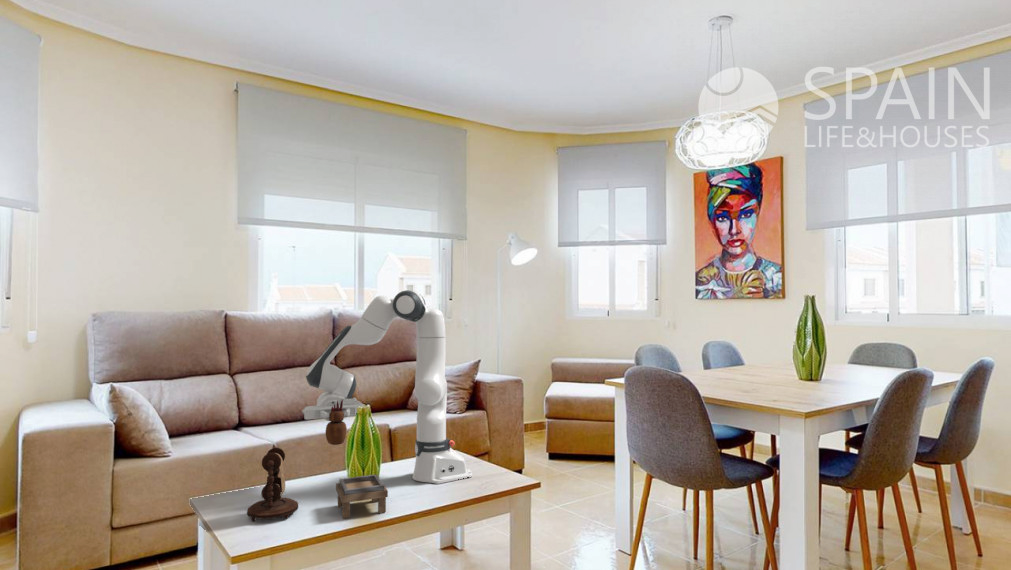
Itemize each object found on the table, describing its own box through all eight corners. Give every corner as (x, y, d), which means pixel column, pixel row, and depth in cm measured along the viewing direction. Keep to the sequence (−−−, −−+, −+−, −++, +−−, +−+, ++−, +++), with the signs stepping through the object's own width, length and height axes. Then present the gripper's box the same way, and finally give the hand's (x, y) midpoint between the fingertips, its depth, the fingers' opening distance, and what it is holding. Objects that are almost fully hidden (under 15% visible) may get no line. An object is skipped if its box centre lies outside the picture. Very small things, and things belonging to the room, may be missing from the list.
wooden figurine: (348, 442, 199) (349, 398, 199) (342, 446, 193) (343, 401, 194) (329, 441, 200) (330, 398, 200) (323, 445, 194) (323, 400, 194)
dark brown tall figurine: (294, 521, 173) (294, 454, 174) (241, 525, 170) (242, 457, 171) (301, 505, 187) (301, 443, 188) (253, 508, 184) (253, 445, 185)
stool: (379, 499, 193) (379, 473, 193) (387, 513, 180) (387, 485, 180) (335, 505, 187) (336, 478, 187) (341, 519, 174) (341, 491, 175)
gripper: (301, 401, 205) (304, 408, 192) (360, 397, 213) (366, 403, 200) (301, 419, 204) (304, 427, 192) (360, 414, 212) (366, 421, 200)
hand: (336, 414), depth 196 cm, fingers closed on wooden figurine, 5 cm apart
